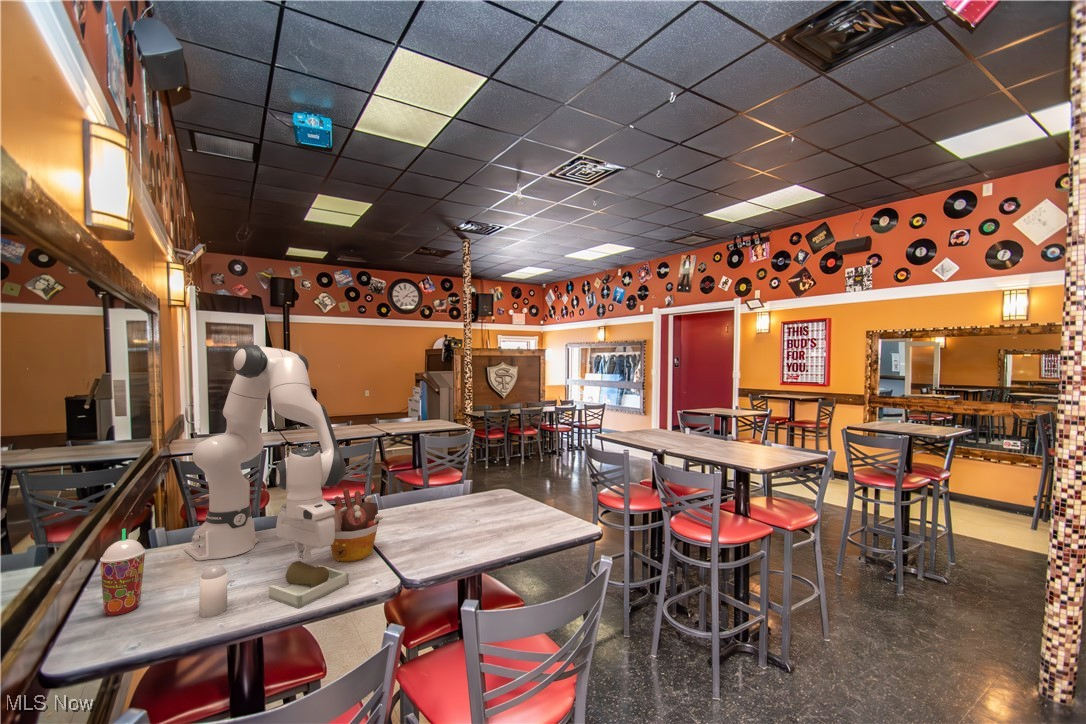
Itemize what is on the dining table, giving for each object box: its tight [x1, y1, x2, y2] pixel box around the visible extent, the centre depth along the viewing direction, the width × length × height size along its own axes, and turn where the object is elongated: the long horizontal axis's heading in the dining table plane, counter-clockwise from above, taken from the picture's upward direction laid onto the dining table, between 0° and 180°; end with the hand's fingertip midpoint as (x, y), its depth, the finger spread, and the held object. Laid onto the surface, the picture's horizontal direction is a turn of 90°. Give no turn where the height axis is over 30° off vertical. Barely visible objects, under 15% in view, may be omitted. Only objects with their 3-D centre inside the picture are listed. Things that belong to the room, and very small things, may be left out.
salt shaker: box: [198, 564, 229, 619], centre depth 113 cm, size 6×6×11 cm
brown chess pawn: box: [285, 560, 329, 587], centre depth 126 cm, size 6×6×11 cm
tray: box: [268, 564, 350, 609], centre depth 124 cm, size 12×15×3 cm
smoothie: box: [99, 528, 146, 617], centre depth 114 cm, size 8×8×20 cm
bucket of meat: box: [329, 487, 384, 563], centre depth 148 cm, size 20×16×20 cm
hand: (304, 558), depth 125 cm, fingers closed
